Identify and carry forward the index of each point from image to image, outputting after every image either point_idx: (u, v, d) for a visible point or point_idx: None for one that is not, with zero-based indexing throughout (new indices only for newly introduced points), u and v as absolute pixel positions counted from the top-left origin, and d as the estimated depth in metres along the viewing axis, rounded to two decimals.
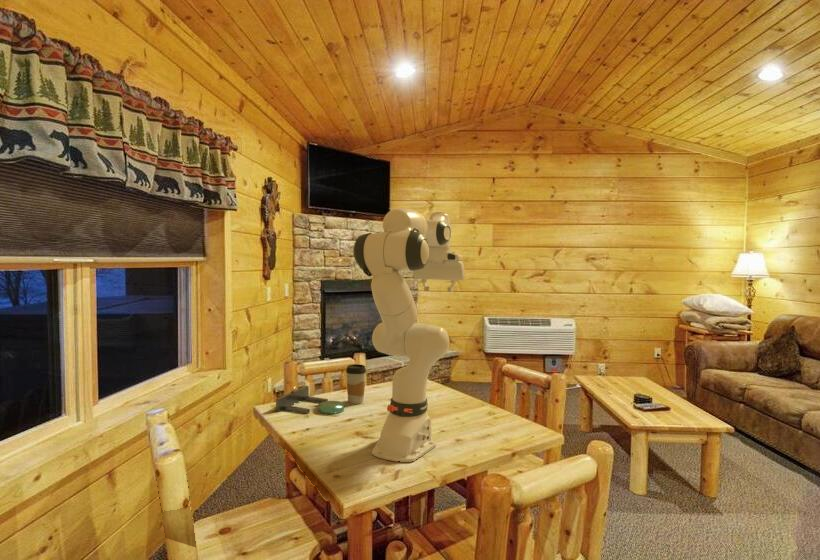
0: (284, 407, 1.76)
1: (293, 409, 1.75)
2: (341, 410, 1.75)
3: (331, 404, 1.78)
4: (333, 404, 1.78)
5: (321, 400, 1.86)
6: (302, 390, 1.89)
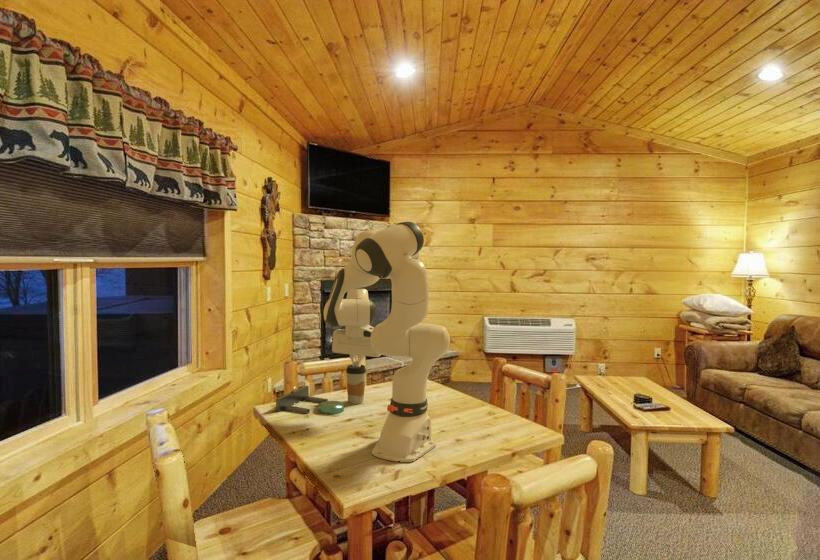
0: (284, 407, 1.76)
1: (293, 409, 1.75)
2: (341, 410, 1.75)
3: (331, 404, 1.78)
4: (333, 404, 1.78)
5: (321, 400, 1.86)
6: (302, 390, 1.89)
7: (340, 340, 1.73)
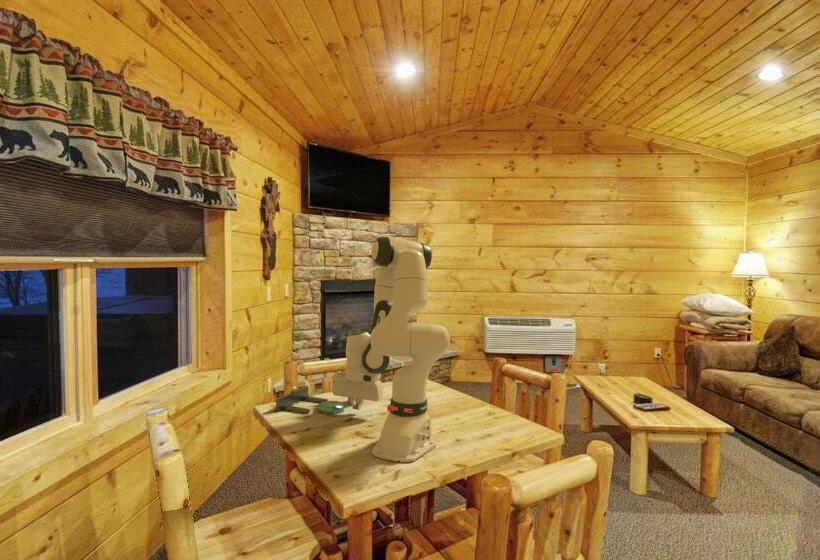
0: (284, 407, 1.76)
1: (293, 409, 1.75)
2: (341, 410, 1.75)
3: (331, 404, 1.78)
4: (333, 404, 1.78)
5: (321, 400, 1.86)
6: (302, 390, 1.89)
7: (340, 383, 1.74)
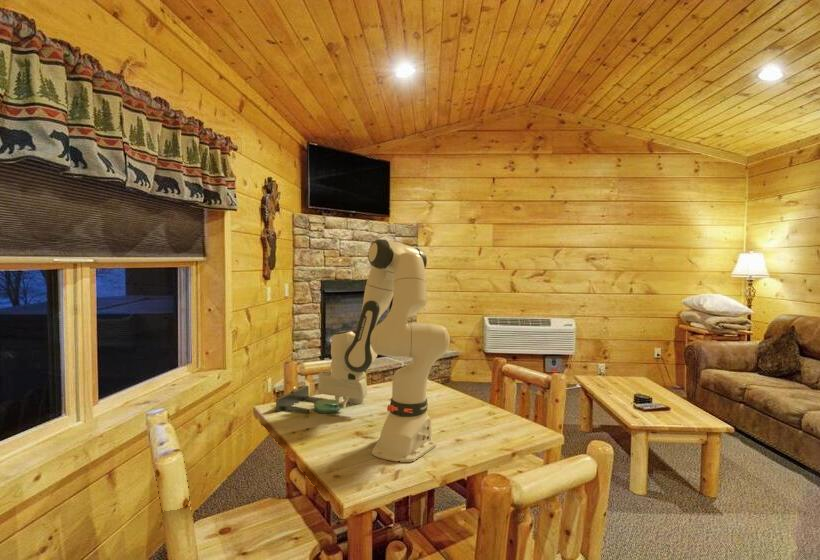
0: (284, 407, 1.76)
1: (293, 409, 1.75)
2: (337, 408, 1.76)
3: (327, 402, 1.79)
4: (329, 402, 1.79)
5: None
6: (302, 390, 1.89)
7: (325, 381, 1.77)
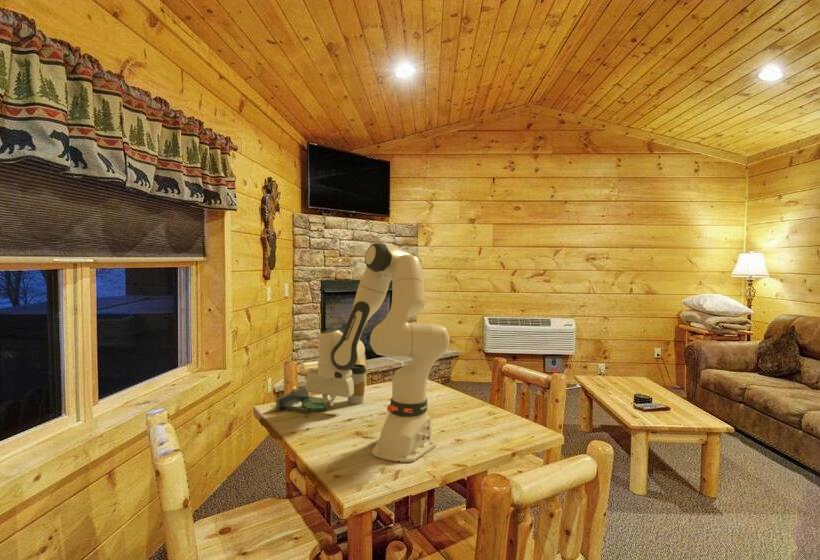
0: (284, 407, 1.76)
1: (293, 409, 1.75)
2: (324, 406, 1.78)
3: (314, 401, 1.81)
4: (316, 400, 1.81)
5: None
6: (302, 390, 1.89)
7: (313, 380, 1.79)
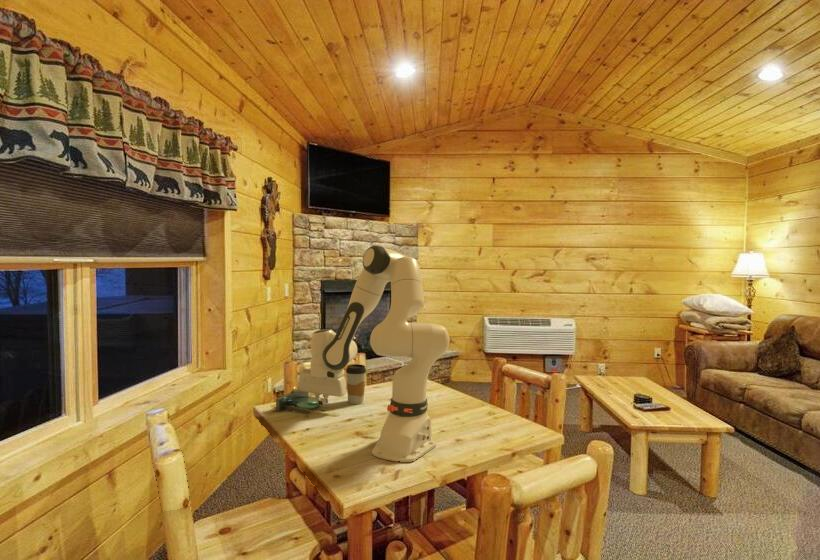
0: (284, 407, 1.76)
1: (293, 409, 1.75)
2: (317, 406, 1.79)
3: (307, 400, 1.82)
4: (309, 400, 1.82)
5: None
6: None
7: (306, 379, 1.80)
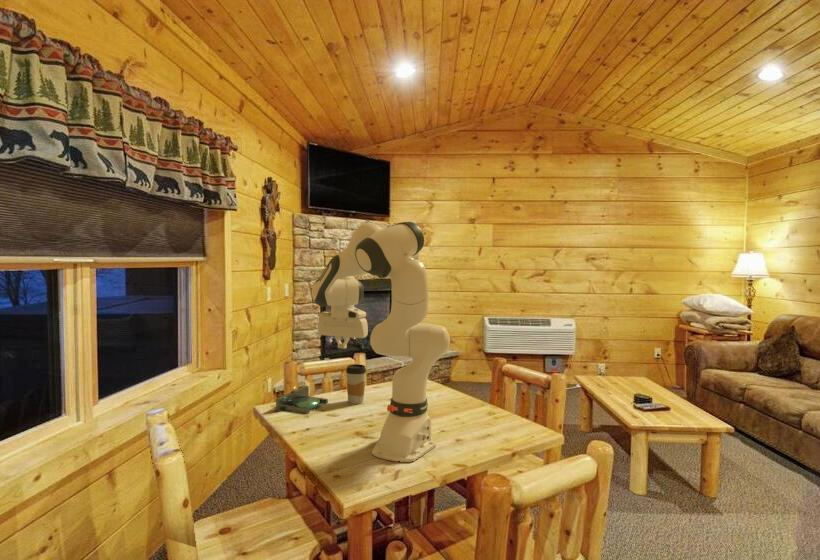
0: (284, 407, 1.76)
1: (293, 409, 1.75)
2: (317, 406, 1.79)
3: (307, 400, 1.82)
4: (309, 400, 1.82)
5: (321, 400, 1.86)
6: (302, 390, 1.89)
7: (326, 322, 1.75)
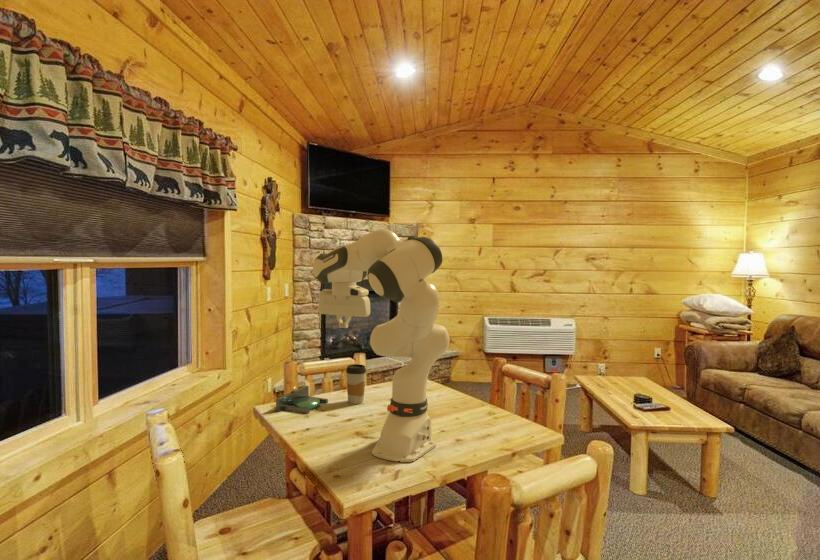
0: (284, 407, 1.76)
1: (293, 409, 1.75)
2: (317, 406, 1.79)
3: (307, 400, 1.82)
4: (309, 400, 1.82)
5: (321, 400, 1.86)
6: (302, 390, 1.89)
7: (326, 300, 1.67)
